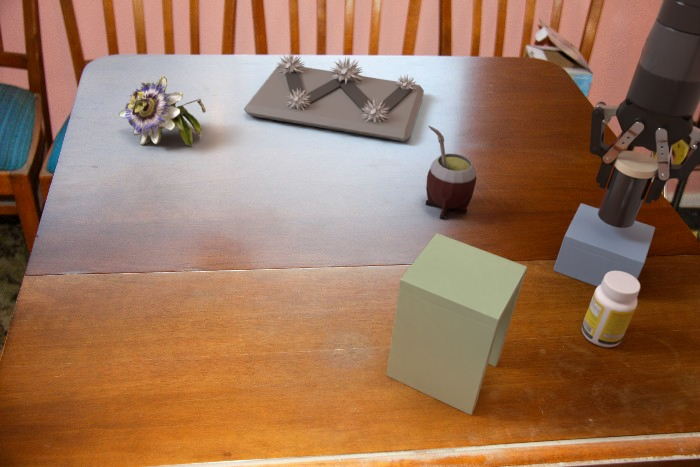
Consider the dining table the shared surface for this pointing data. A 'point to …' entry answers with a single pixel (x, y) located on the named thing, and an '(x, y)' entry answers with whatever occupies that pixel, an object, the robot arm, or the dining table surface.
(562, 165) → the dining table surface
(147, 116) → the passion flower
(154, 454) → the dining table surface
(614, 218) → the spice jar
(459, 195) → the mate gourd
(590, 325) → the supplement bottle
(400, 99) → the spiky constellation board
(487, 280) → the notched sage green block
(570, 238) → the blue grey block
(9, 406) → the dining table surface
